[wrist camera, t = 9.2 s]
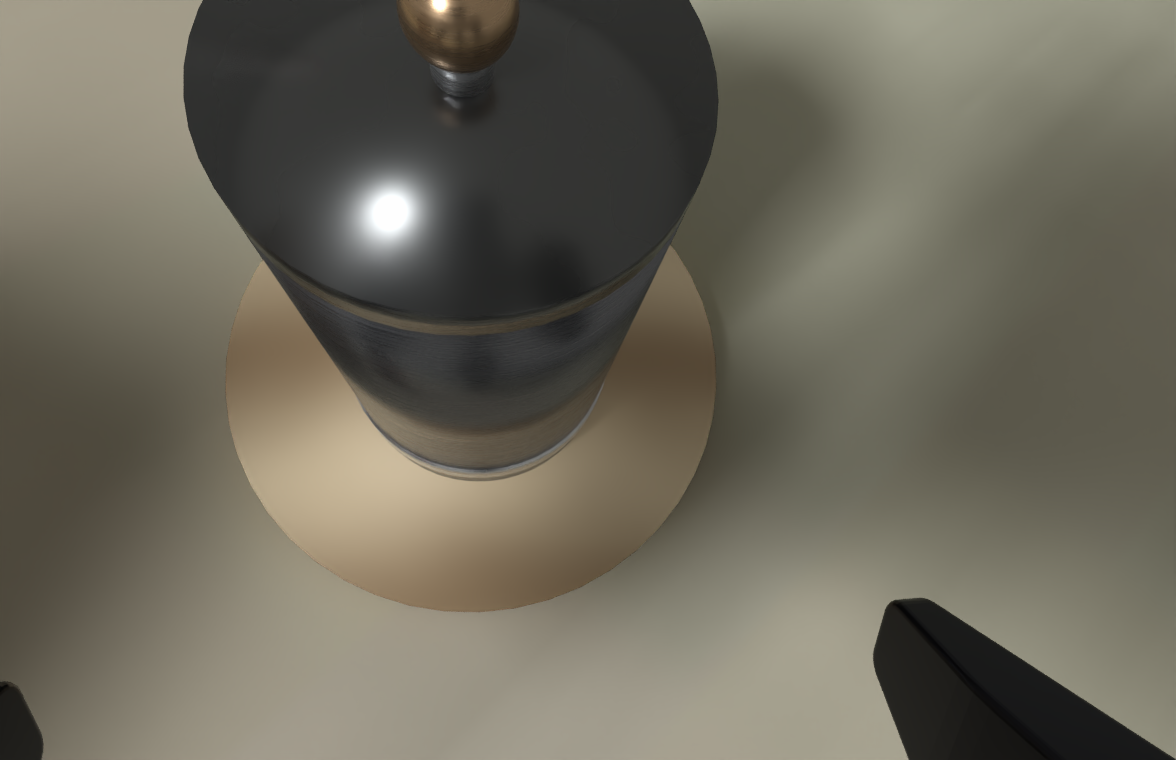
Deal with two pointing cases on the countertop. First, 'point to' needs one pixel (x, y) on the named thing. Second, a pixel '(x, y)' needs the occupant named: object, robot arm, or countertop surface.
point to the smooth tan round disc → (470, 508)
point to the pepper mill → (458, 195)
